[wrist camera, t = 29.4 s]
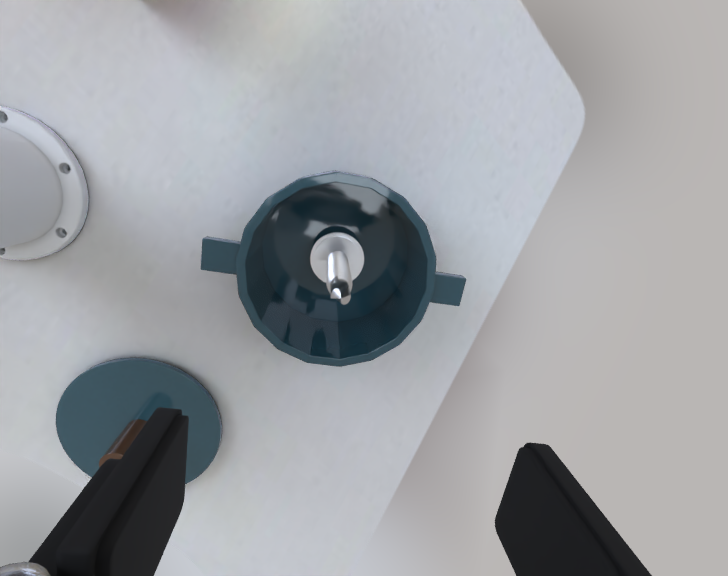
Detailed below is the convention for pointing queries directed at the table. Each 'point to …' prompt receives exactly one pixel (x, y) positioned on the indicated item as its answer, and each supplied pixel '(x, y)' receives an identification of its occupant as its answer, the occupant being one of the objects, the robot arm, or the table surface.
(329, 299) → the pot
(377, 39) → the table surface
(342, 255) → the screw
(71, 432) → the lid
